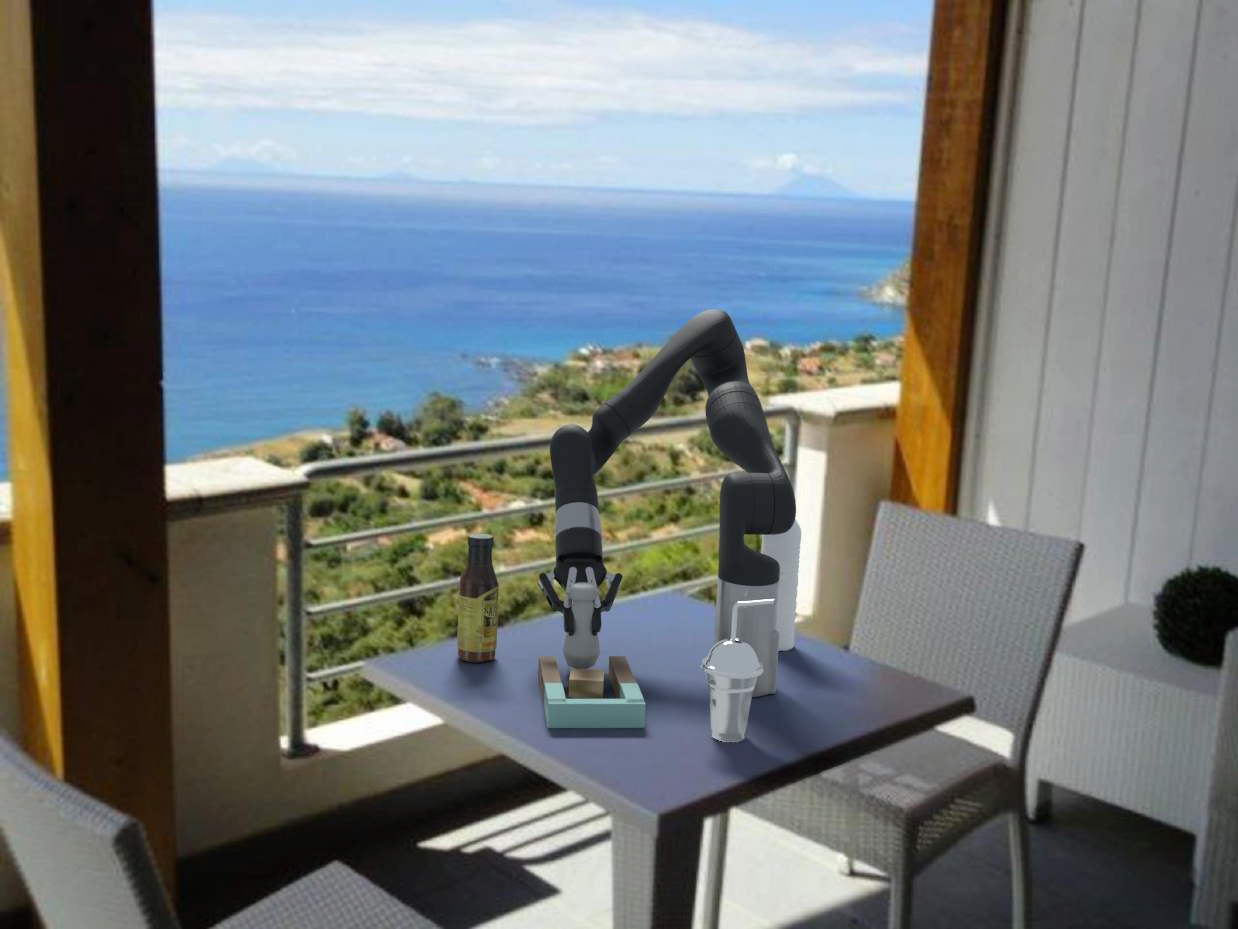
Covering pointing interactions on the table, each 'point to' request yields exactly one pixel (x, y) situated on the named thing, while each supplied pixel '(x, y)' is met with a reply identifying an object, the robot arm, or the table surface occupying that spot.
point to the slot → (617, 673)
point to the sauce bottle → (478, 603)
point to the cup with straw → (732, 681)
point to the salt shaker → (582, 628)
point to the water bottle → (785, 580)
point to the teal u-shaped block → (594, 709)
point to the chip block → (586, 683)
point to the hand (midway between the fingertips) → (582, 633)
